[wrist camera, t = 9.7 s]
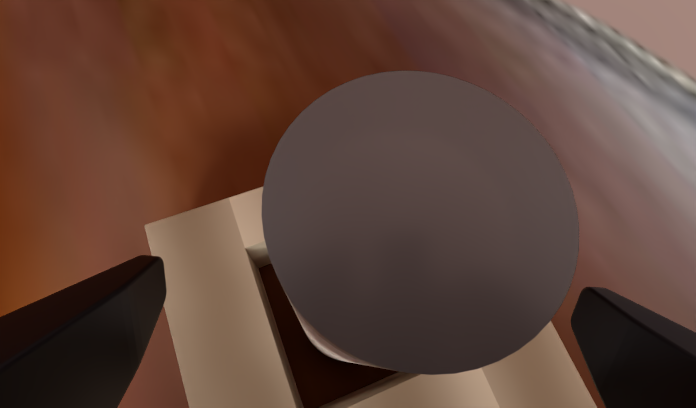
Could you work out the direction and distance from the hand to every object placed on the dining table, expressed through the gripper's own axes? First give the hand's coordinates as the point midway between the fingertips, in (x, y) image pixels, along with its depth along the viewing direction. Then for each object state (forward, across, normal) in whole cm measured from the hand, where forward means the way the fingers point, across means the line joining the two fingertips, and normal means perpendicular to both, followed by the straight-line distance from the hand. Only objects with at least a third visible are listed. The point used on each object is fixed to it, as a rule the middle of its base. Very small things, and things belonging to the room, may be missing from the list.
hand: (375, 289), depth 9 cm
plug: (+7, 0, +6) cm, 9 cm away
